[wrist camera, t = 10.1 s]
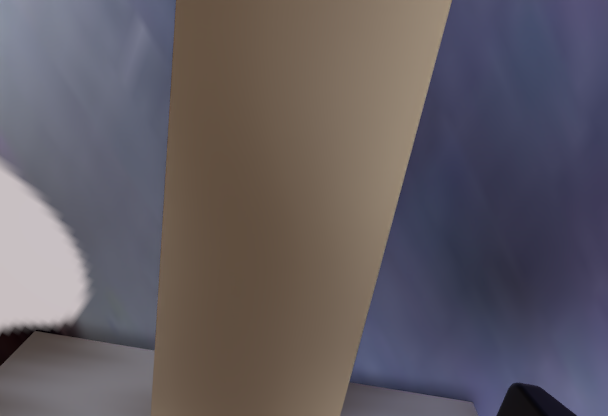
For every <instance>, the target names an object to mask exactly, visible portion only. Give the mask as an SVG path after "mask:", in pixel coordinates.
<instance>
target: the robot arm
mask: <svg viewBox="0 0 608 416" xmlns="http://www.w3.org/2000/svg"><path fill="white" fill-rule="evenodd" d="M497 416H577V415H575V414H574V413H573V412H571V411H570V410H569V409H568V408H566V407H565V406H564V405H563V404H561V403H560V402H559V401H557V400H556V399H555V398H554V397H552V396H551V395H550V394H548V393H547V392H546V391H545V390H543V389H542V388H540V387H538V386H535V385H530V384H524V383H513V384H512V385H511V386H510V387H509V389H508V391H507V393H506V395H505V398H504V400H503V402H502V404H501V407H500V409H499V411H498V413H497Z"/></svg>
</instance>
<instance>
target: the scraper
mask: <svg viewBox="0 0 608 416" xmlns="http://www.w3.org/2000/svg"><path fill="white" fill-rule="evenodd" d="M451 2H452V0H176V11H175V27H174V44H173V60H172V76H171V92H170V109H169V125H168V141H167V158H166V174H165V190H164V206H163V223H162V239H161V255H160V271H159V288H158V304H157V320H156V336H155V350H149V349H143V348H136V347H130V346H124V345H118V344H112V343H106V342H100V341H93V340H87V339H81V338H75V337H69V336H63V335H57V334H51V333H44V332H38V331H35V332H34V333H33V334H32V335H31V336H30V337H29V338H28V339H27V340H26V341H25V342H24V343H23V344H22V345H21V346H20V347H19V348H18V349H17V350H16V351H15V352H14V353H13V354H12V355H11V356H10V357H9V358H8V359H7V360H6V361H5V362H4V363H3V364H2V365H1V366H0V416H478V414H477V412H476V409H475V407H474V405H473V402H468V401H462V400H456V399H449V398H443V397H437V396H431V395H425V394H419V393H413V392H407V391H400V390H394V389H388V388H382V387H376V386H370V385H364V384H357V383H351V382H349V381H350V377H351V373H352V370H353V366H354V362H355V359H356V355H357V351H358V347H359V344H360V340H361V336H362V333H363V329H364V325H365V321H366V318H367V314H368V310H369V307H370V303H371V299H372V295H373V292H374V288H375V284H376V281H377V277H378V273H379V269H380V266H381V262H382V258H383V255H384V251H385V247H386V243H387V240H388V236H389V232H390V229H391V225H392V221H393V217H394V214H395V210H396V206H397V203H398V199H399V195H400V191H401V188H402V184H403V180H404V177H405V173H406V169H407V166H408V162H409V158H410V154H411V151H412V147H413V143H414V140H415V136H416V132H417V128H418V125H419V121H420V117H421V114H422V110H423V106H424V102H425V99H426V95H427V91H428V88H429V84H430V80H431V76H432V73H433V69H434V65H435V62H436V58H437V54H438V50H439V47H440V43H441V39H442V36H443V32H444V28H445V24H446V21H447V17H448V13H449V10H450V6H451Z"/></svg>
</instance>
